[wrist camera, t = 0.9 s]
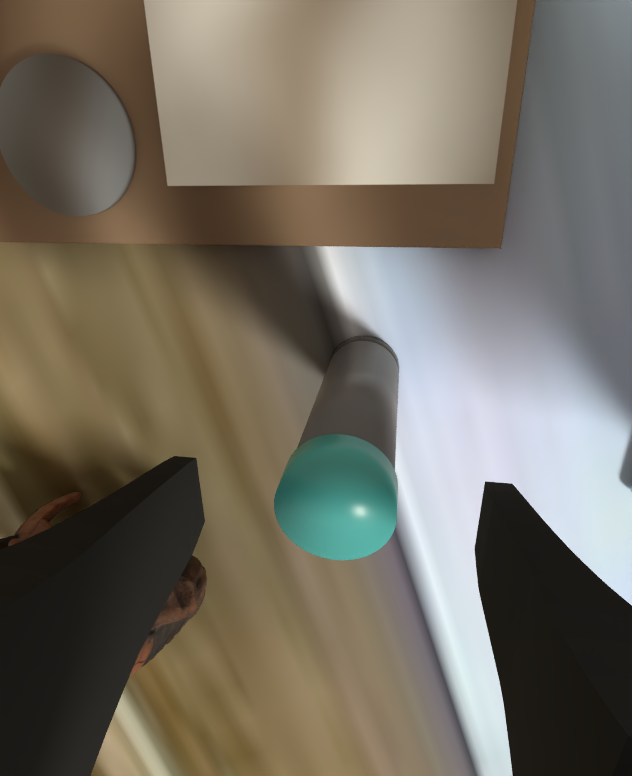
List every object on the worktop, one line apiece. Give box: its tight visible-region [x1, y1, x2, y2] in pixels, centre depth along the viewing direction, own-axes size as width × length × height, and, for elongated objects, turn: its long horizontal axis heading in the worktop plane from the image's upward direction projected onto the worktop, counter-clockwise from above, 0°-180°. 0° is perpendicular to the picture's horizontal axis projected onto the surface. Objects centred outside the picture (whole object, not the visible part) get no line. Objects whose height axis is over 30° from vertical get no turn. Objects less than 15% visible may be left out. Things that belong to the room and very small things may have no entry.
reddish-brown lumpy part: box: [0, 492, 207, 675], centre depth 25 cm, size 12×10×8 cm
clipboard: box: [0, 0, 535, 248], centre depth 15 cm, size 19×14×1 cm
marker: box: [274, 336, 399, 560], centre depth 16 cm, size 3×3×9 cm
